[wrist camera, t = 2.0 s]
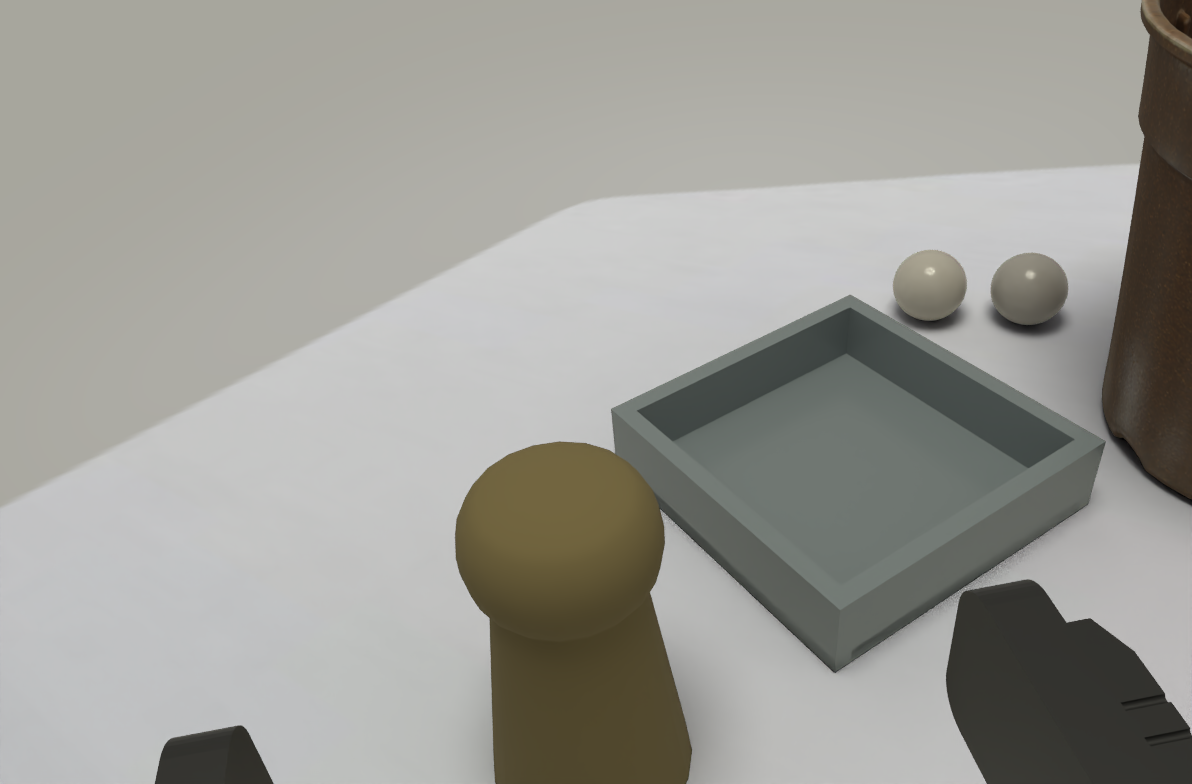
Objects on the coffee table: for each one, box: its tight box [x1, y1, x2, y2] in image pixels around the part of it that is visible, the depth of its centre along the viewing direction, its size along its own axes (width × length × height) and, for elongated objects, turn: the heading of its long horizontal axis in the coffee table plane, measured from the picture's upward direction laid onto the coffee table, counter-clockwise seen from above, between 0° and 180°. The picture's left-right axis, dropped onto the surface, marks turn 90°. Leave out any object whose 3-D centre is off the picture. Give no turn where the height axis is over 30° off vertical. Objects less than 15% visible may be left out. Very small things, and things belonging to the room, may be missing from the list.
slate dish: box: [611, 295, 1106, 672], centre depth 39 cm, size 12×12×3 cm
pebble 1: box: [893, 250, 967, 321], centre depth 47 cm, size 3×3×3 cm
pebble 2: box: [991, 253, 1068, 325], centre depth 46 cm, size 3×3×3 cm
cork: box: [455, 442, 692, 784], centre depth 28 cm, size 6×6×11 cm
